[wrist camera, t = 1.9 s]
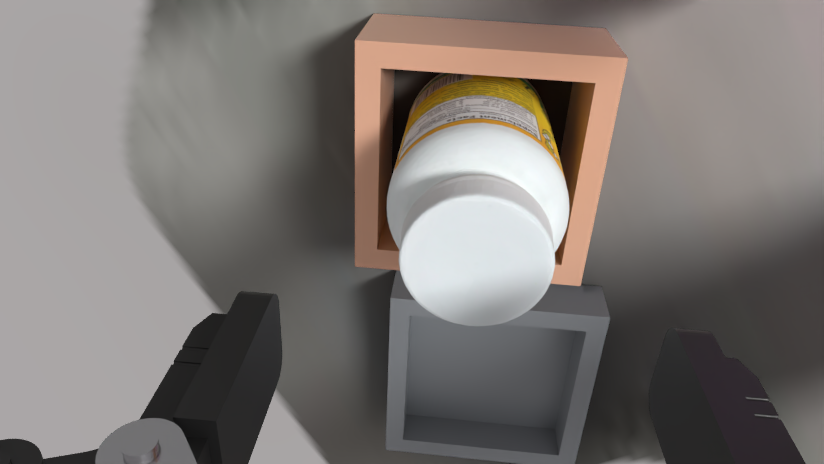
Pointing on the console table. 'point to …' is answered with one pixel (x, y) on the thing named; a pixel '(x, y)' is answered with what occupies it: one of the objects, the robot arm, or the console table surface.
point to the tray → (495, 379)
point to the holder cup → (491, 56)
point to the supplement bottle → (477, 199)
